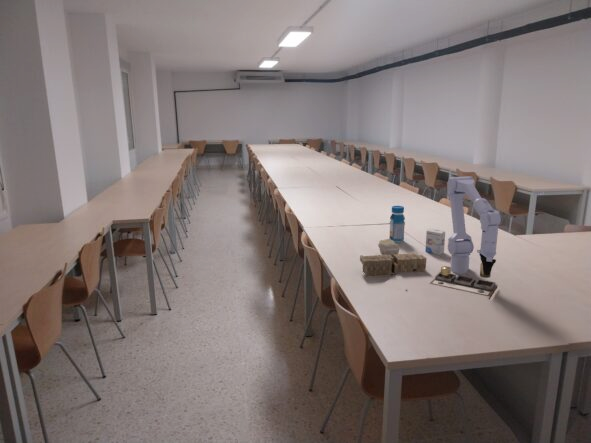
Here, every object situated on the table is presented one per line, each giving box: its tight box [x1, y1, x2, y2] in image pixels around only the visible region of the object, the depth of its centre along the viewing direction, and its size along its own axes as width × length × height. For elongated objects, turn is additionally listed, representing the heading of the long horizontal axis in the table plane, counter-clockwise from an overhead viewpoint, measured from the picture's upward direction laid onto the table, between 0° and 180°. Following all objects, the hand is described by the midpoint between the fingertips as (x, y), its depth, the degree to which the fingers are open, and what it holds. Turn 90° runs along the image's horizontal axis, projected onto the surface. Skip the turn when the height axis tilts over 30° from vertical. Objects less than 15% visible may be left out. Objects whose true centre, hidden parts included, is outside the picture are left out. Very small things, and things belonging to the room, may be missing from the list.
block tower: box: [359, 252, 428, 277], centre depth 196 cm, size 8×8×29 cm
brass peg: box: [479, 262, 492, 279], centre depth 174 cm, size 4×4×5 cm
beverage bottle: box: [388, 205, 406, 243], centre depth 242 cm, size 8×8×20 cm
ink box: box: [424, 228, 446, 256], centre depth 222 cm, size 9×5×12 cm, turn 47°
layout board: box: [429, 271, 498, 300], centre depth 178 cm, size 14×24×3 cm, turn 54°
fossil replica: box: [377, 238, 400, 257], centre depth 220 cm, size 12×8×10 cm
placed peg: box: [440, 265, 452, 279], centre depth 184 cm, size 4×4×5 cm
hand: (485, 272), depth 174 cm, fingers closed on brass peg, 4 cm apart
